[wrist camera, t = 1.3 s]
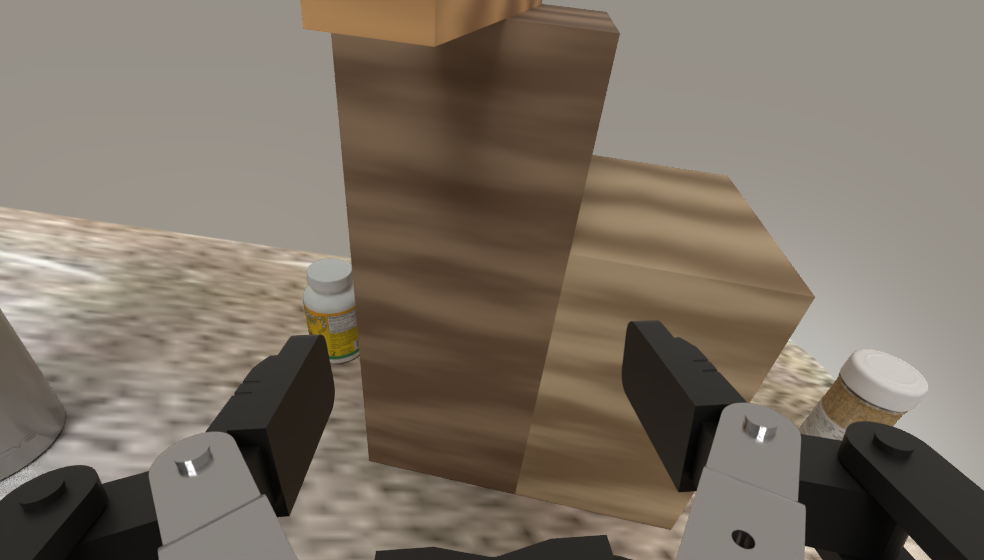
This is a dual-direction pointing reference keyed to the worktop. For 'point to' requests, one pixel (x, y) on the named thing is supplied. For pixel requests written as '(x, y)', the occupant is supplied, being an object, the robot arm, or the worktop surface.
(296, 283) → the worktop surface
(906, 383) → the sprinkles bottle
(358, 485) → the worktop surface
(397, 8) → the dowel
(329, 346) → the supplement bottle
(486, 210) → the box
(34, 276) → the worktop surface
